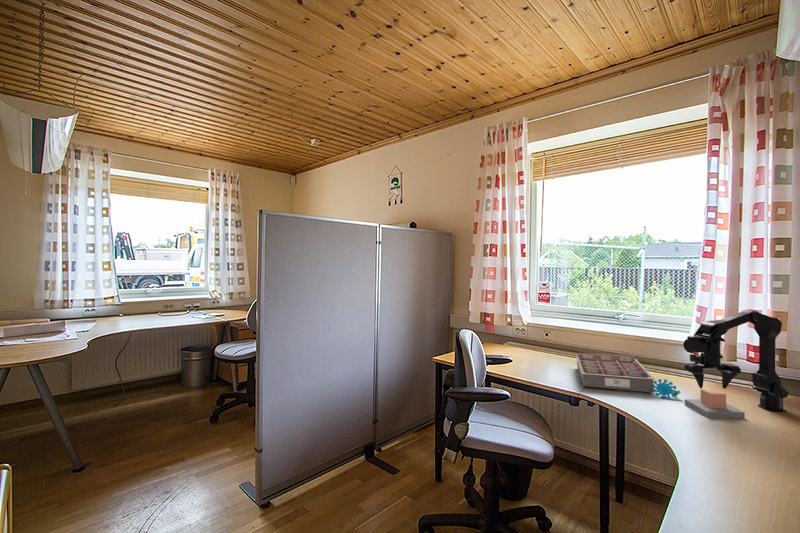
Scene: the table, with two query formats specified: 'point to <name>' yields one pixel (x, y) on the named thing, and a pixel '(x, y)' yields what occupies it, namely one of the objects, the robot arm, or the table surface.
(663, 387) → the blue spiky toy
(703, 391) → the salmon pink cube
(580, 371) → the organizer tray
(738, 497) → the table surface
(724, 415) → the plinth
